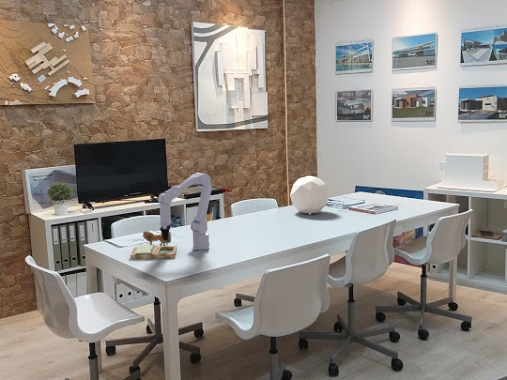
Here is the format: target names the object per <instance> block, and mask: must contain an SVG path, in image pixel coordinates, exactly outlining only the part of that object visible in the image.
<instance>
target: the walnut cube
mask: <svg viewBox="0 0 507 380" xmlns="http://www.w3.org/2000/svg"><path fill="white" fill-rule="evenodd" d="M160 235H161V242H160V244H161V243H162V244H163V243H165V244H166V243H167V244H171V242H172V232H171V231H169V234H168V240H164V239H163V235H162V232H161V233H160Z"/></svg>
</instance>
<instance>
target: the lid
mask: <svg viewBox="0 0 507 380" xmlns="http://www.w3.org/2000/svg"><path fill="white" fill-rule="evenodd" d="M155 246H156V245H155V243H152V245H150V244H143V245H142V244H141V245H138V246H137V247H138V248H137V250H136V253H135V254H152V253H153V250H154V247H155Z"/></svg>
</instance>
